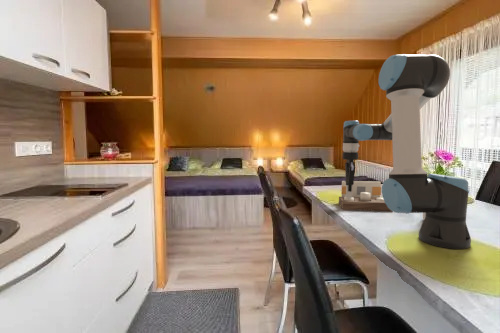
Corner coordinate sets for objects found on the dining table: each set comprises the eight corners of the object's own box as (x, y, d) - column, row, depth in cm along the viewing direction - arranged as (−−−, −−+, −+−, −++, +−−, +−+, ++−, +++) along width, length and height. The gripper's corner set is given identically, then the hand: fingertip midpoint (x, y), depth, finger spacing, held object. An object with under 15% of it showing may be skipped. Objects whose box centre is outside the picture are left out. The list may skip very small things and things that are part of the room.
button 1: (387, 208, 145) (388, 199, 144) (377, 207, 145) (378, 199, 145) (384, 205, 149) (385, 197, 149) (374, 205, 150) (375, 197, 149)
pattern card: (380, 203, 156) (381, 181, 154) (341, 202, 158) (341, 181, 157) (379, 203, 157) (380, 181, 156) (340, 202, 160) (341, 180, 158)
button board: (393, 211, 141) (394, 203, 140) (342, 209, 144) (343, 201, 144) (385, 205, 153) (385, 197, 152) (338, 203, 156) (338, 196, 155)
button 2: (371, 202, 145) (371, 194, 145) (361, 202, 146) (361, 193, 146) (368, 200, 150) (369, 192, 150) (359, 200, 151) (359, 191, 150)
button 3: (354, 207, 147) (354, 198, 146) (344, 206, 147) (345, 198, 147) (352, 204, 151) (352, 196, 151) (343, 204, 152) (343, 196, 152)
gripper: (361, 152, 139) (359, 200, 142) (355, 150, 152) (353, 194, 155) (345, 152, 140) (343, 199, 143) (340, 150, 153) (339, 194, 156)
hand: (348, 197), depth 149 cm, fingers closed
